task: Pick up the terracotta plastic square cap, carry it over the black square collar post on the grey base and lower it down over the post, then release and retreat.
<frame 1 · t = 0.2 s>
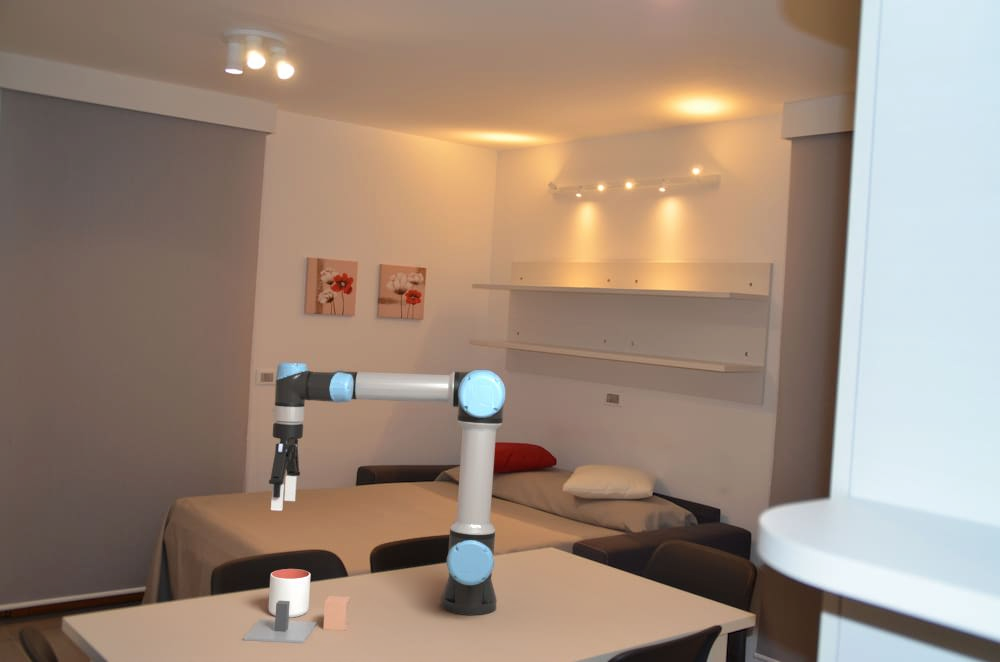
hand: (283, 505, 222), 27 cm above the table, fingers open, 13 cm apart
cup: (288, 613, 222), on the table
marker post: (281, 631, 207), on the table
cap: (335, 626, 213), on the table
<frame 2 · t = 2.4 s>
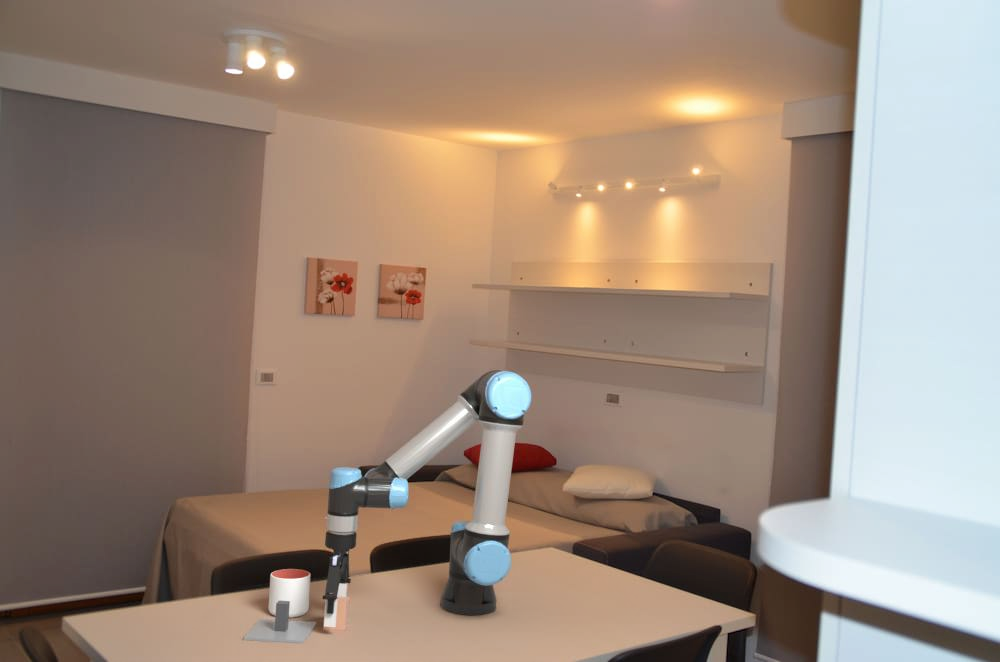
hand: (335, 617, 213), 2 cm above the table, fingers open, 13 cm apart
nothing on the table moved.
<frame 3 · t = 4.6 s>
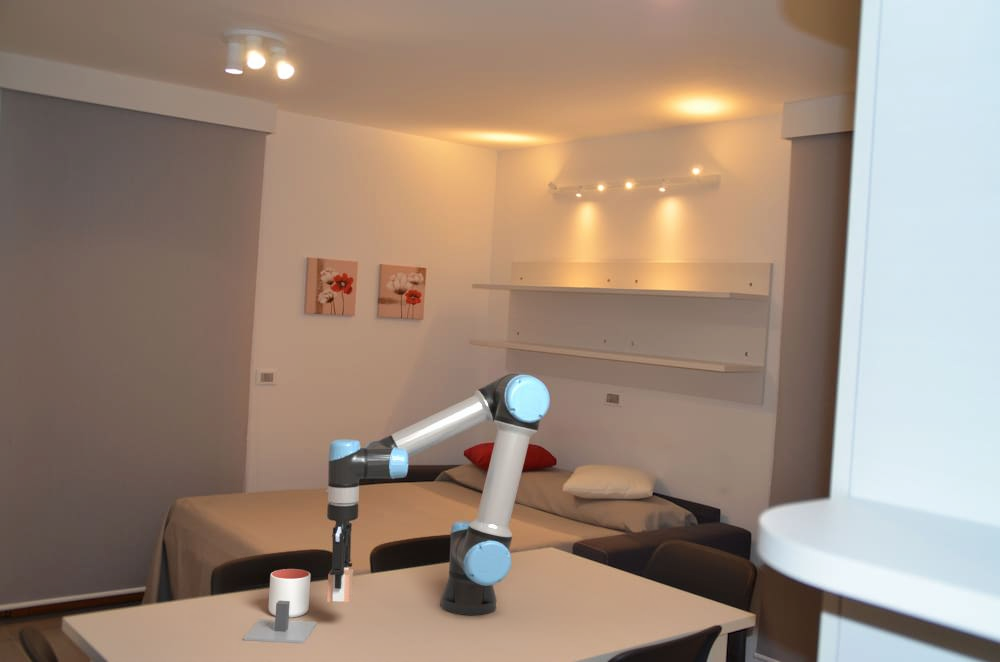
hand: (340, 597, 214), 7 cm above the table, fingers closed on cap, 5 cm apart
cap: (339, 598, 214), point 7 cm above the table, touching gripper
everything else where it was.
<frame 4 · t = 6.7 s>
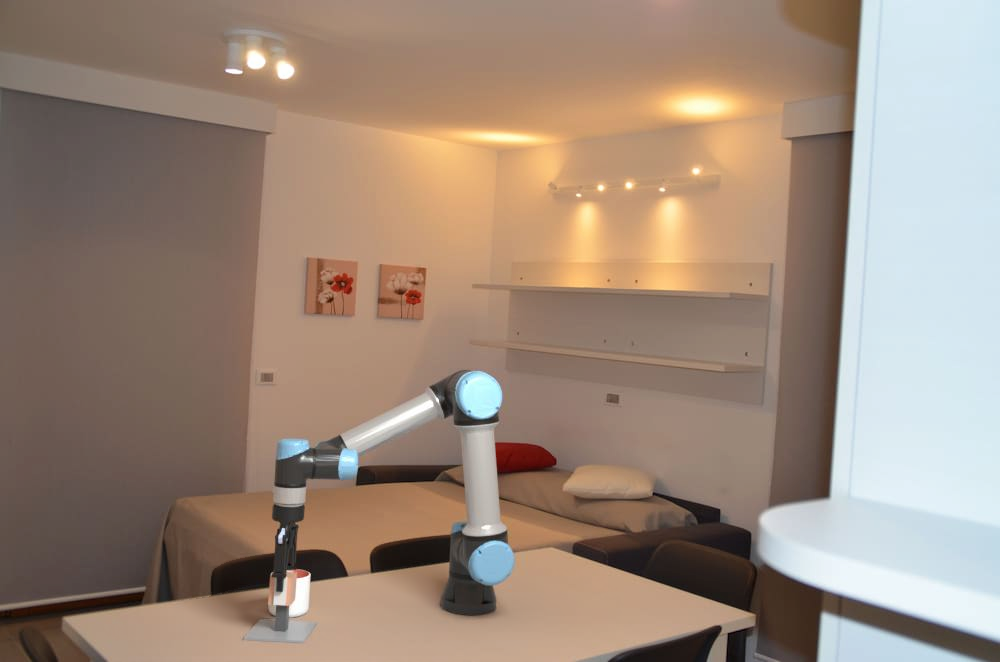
hand: (282, 600, 207), 7 cm above the table, fingers closed on cap, 5 cm apart
cap: (281, 602, 207), point 7 cm above the table, touching gripper
everything else where it was.
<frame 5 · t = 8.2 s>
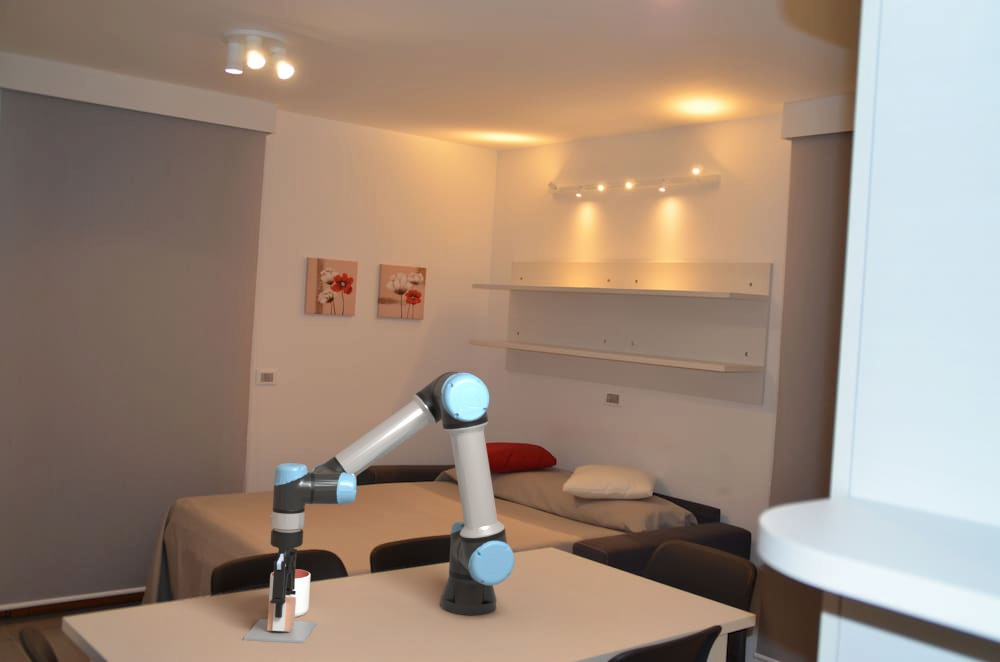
hand: (281, 626, 207), 1 cm above the table, fingers closed on cap, 5 cm apart
cap: (280, 627, 207), point 1 cm above the table, touching gripper
everything else where it was.
when the fingers open (1 cm above the table, at t = 8.8 s): cap stays where it is, resting on marker post.
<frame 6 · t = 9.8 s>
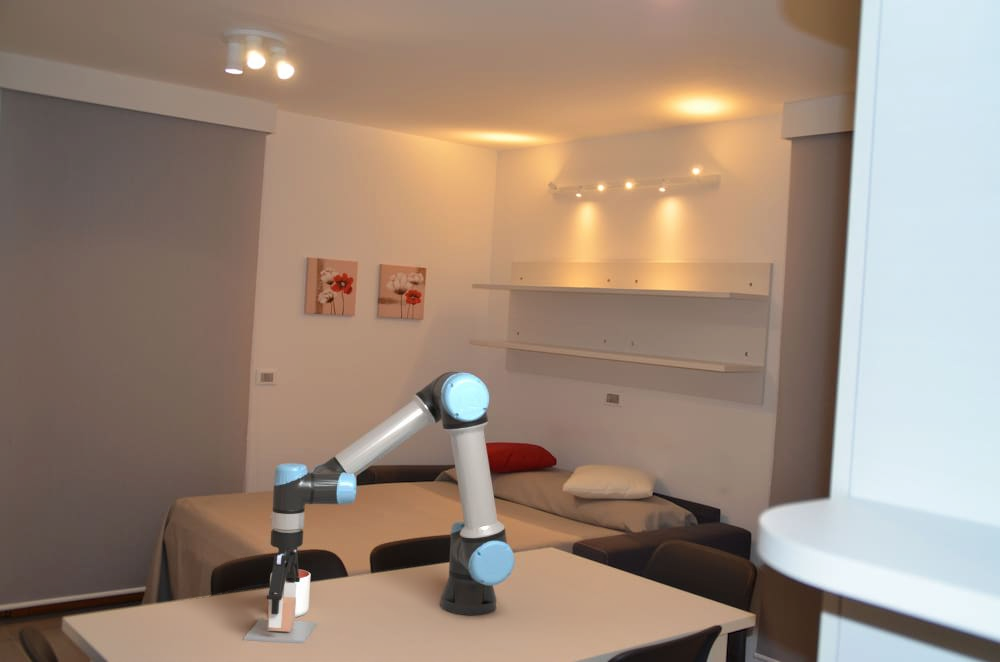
hand: (282, 618, 207), 3 cm above the table, fingers open, 13 cm apart
cap: (281, 627, 207), point 1 cm above the table, touching marker post
everything else where it was.
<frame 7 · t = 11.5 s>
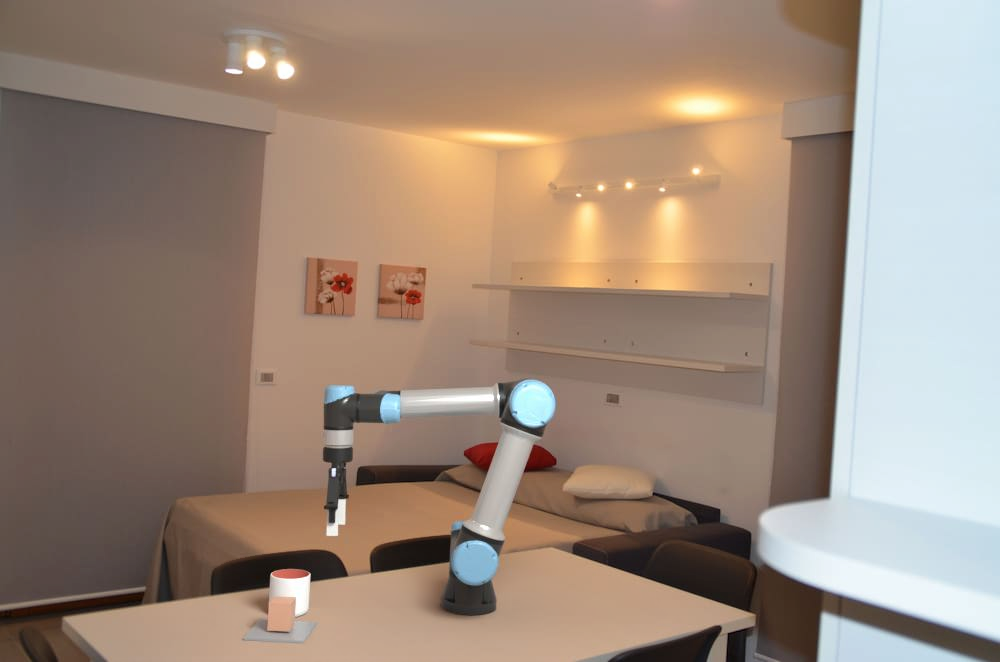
hand: (336, 529, 220), 22 cm above the table, fingers open, 13 cm apart
nothing on the table moved.
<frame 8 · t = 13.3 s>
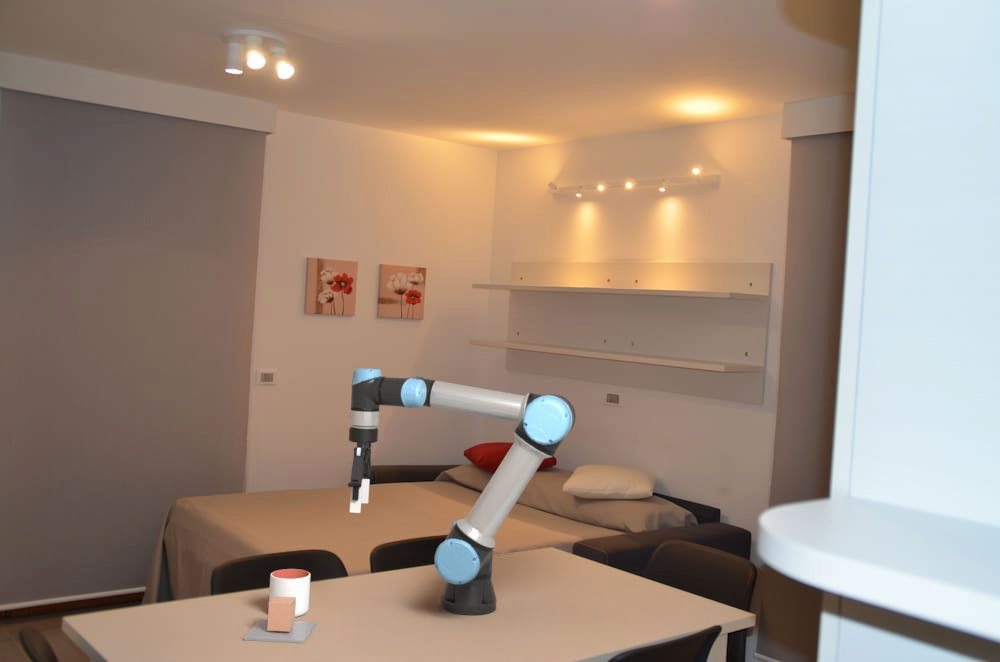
hand: (359, 507, 228), 27 cm above the table, fingers open, 13 cm apart
nothing on the table moved.
at the end: cap 0.1 cm from the marker post (horizontally); cap point 1.0 cm above the table; the gripper is holding nothing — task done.
